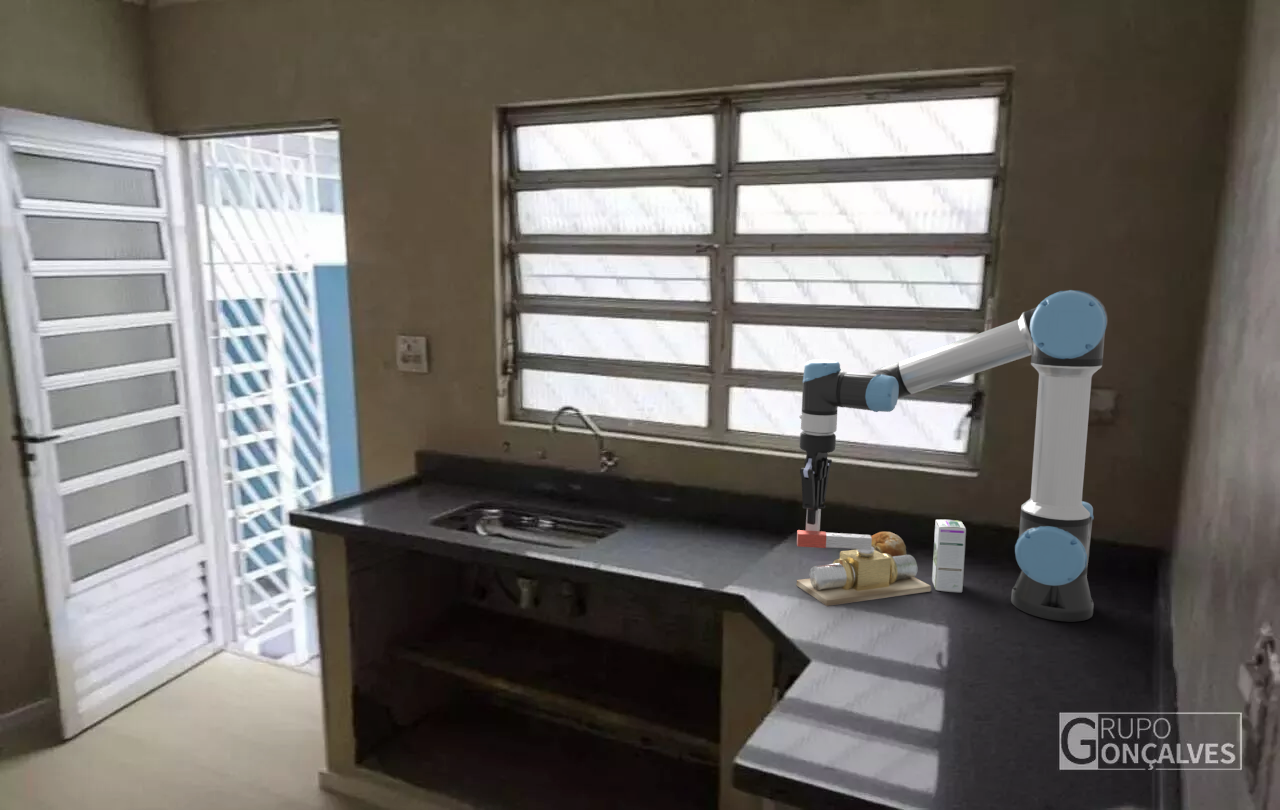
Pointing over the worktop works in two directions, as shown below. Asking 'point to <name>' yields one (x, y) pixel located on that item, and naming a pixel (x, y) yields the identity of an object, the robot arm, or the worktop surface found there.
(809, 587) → the mounting board
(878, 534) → the bread roll
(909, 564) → the valve
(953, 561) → the syrup box
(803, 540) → the lever
